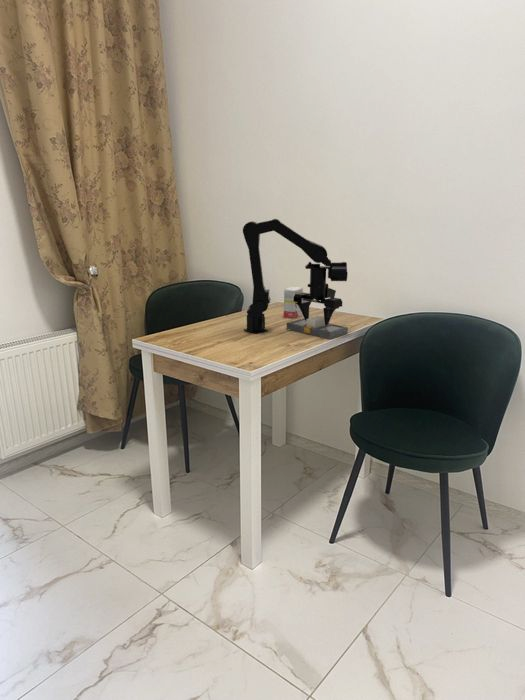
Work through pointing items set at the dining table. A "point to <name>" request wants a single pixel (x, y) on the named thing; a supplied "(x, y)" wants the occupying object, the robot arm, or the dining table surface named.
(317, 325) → the light grey rectangular block
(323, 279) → the robot arm
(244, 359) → the dining table surface
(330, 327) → the frame
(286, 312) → the ink box
